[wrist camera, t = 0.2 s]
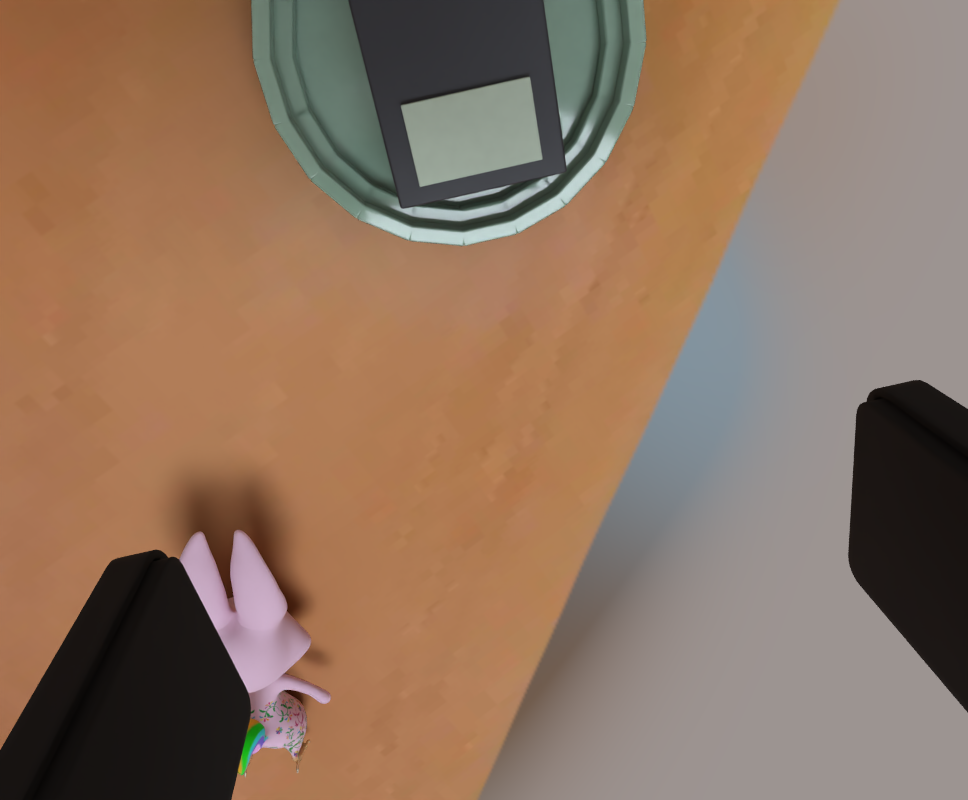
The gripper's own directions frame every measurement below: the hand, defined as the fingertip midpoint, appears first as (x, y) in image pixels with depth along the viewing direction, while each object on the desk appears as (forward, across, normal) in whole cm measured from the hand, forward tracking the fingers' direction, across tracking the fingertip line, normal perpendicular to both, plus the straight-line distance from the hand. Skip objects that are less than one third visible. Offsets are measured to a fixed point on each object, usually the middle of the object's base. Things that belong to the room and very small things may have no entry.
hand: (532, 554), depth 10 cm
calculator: (+16, -1, -6) cm, 17 cm away
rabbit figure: (+17, +12, +15) cm, 26 cm away
